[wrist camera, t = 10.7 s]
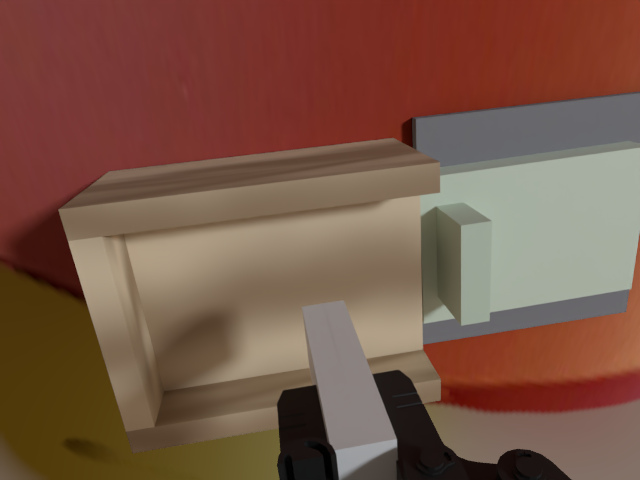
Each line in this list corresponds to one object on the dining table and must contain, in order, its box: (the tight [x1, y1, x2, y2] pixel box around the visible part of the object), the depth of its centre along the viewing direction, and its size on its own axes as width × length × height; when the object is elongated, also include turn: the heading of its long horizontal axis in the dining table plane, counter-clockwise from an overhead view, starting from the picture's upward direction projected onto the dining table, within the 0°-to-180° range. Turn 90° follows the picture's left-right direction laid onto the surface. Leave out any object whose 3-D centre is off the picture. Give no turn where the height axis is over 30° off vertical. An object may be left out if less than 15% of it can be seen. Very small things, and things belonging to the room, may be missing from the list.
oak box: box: [58, 138, 441, 453], centre depth 22 cm, size 11×14×6 cm
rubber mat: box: [412, 92, 640, 344], centre depth 26 cm, size 13×13×1 cm
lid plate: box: [420, 141, 640, 326], centre depth 24 cm, size 8×12×5 cm, turn 96°
